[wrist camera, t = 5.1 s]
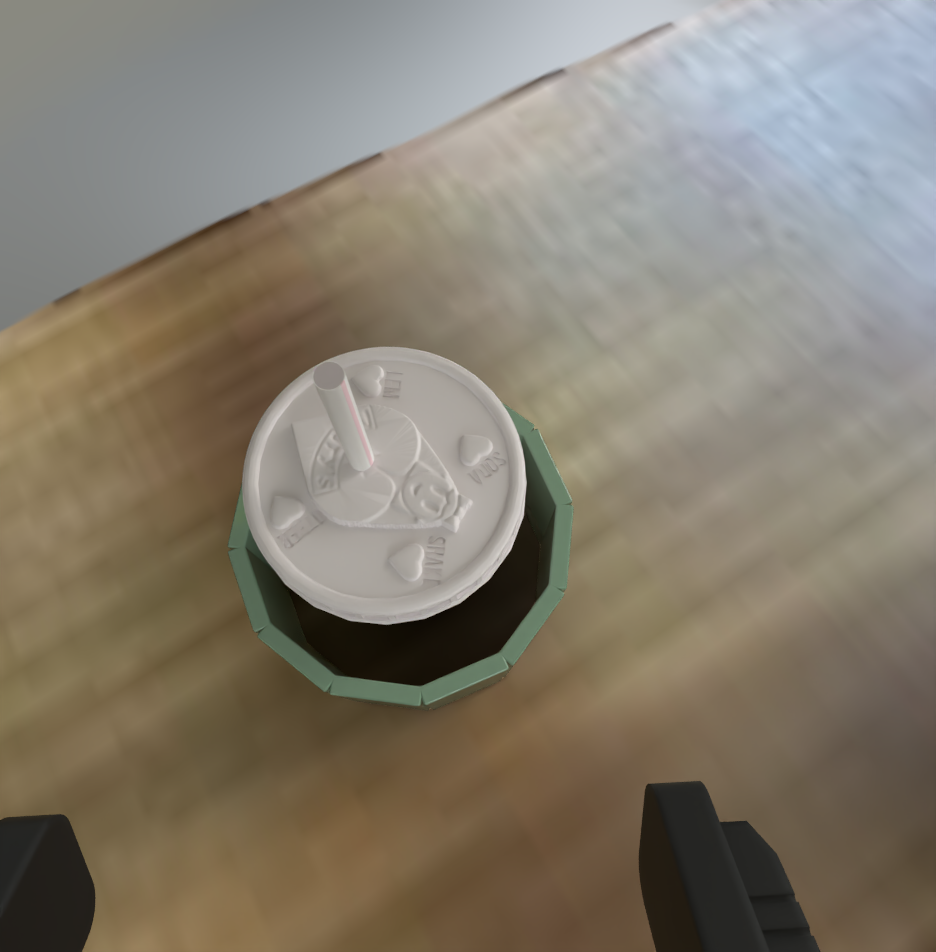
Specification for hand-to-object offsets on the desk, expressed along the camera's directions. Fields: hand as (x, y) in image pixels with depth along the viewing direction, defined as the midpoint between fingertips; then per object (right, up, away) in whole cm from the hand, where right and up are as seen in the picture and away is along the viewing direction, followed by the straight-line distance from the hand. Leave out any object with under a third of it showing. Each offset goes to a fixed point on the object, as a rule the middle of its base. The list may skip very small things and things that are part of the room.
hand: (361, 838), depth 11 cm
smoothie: (0, +2, +16) cm, 16 cm away
